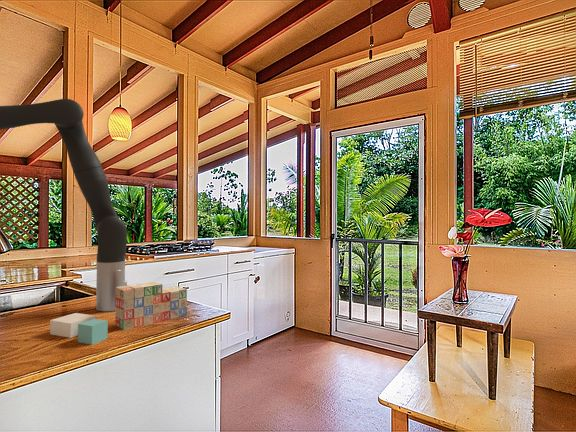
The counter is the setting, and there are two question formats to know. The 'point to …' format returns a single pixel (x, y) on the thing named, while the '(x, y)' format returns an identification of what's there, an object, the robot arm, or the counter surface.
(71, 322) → the white square block
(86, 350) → the counter surface
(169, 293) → the stack of blocks
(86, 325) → the teal cube
